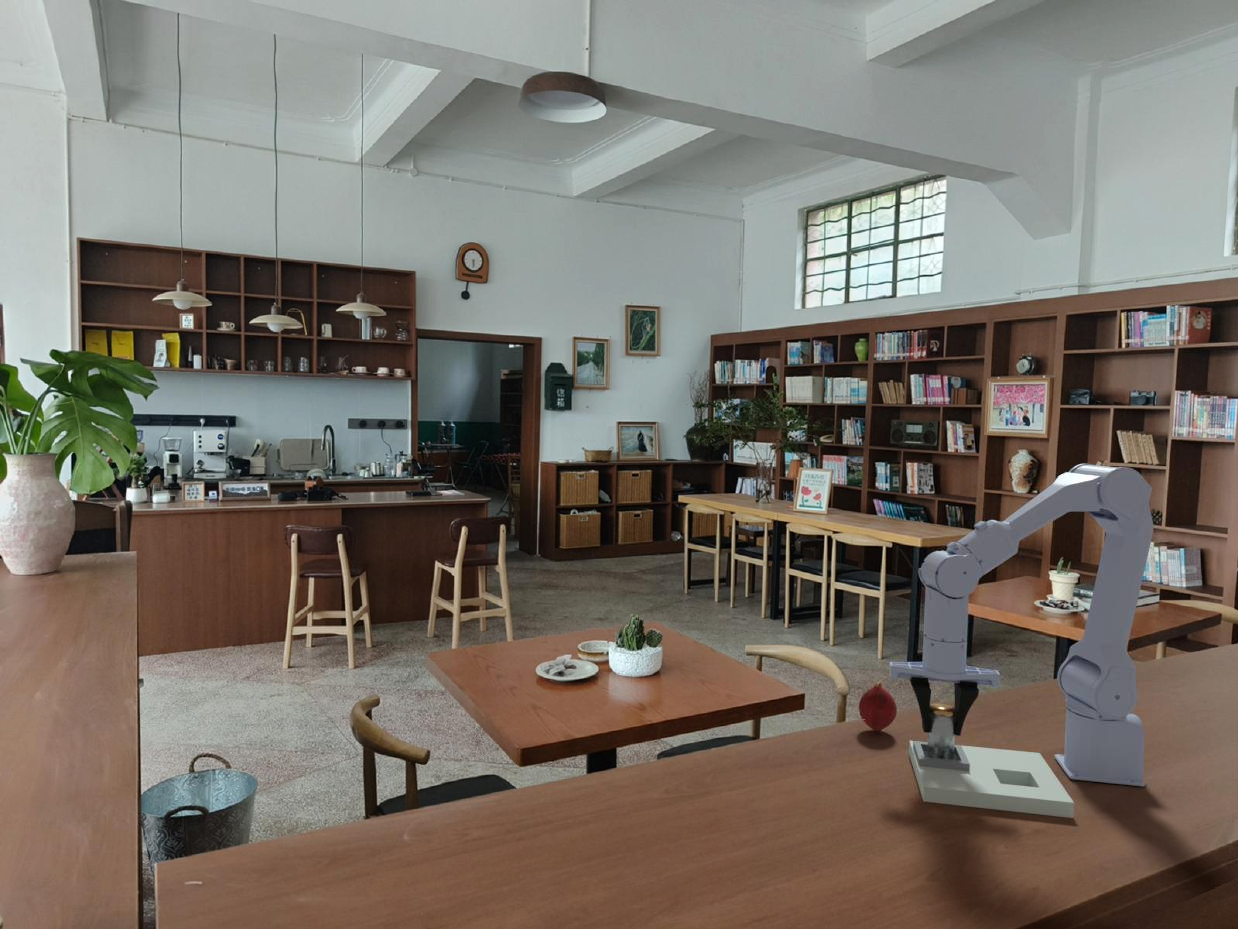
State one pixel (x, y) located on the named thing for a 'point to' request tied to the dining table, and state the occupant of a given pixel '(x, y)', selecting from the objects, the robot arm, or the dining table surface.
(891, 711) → the onion
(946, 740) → the silver and gold cylinder
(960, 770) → the board
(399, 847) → the dining table surface
